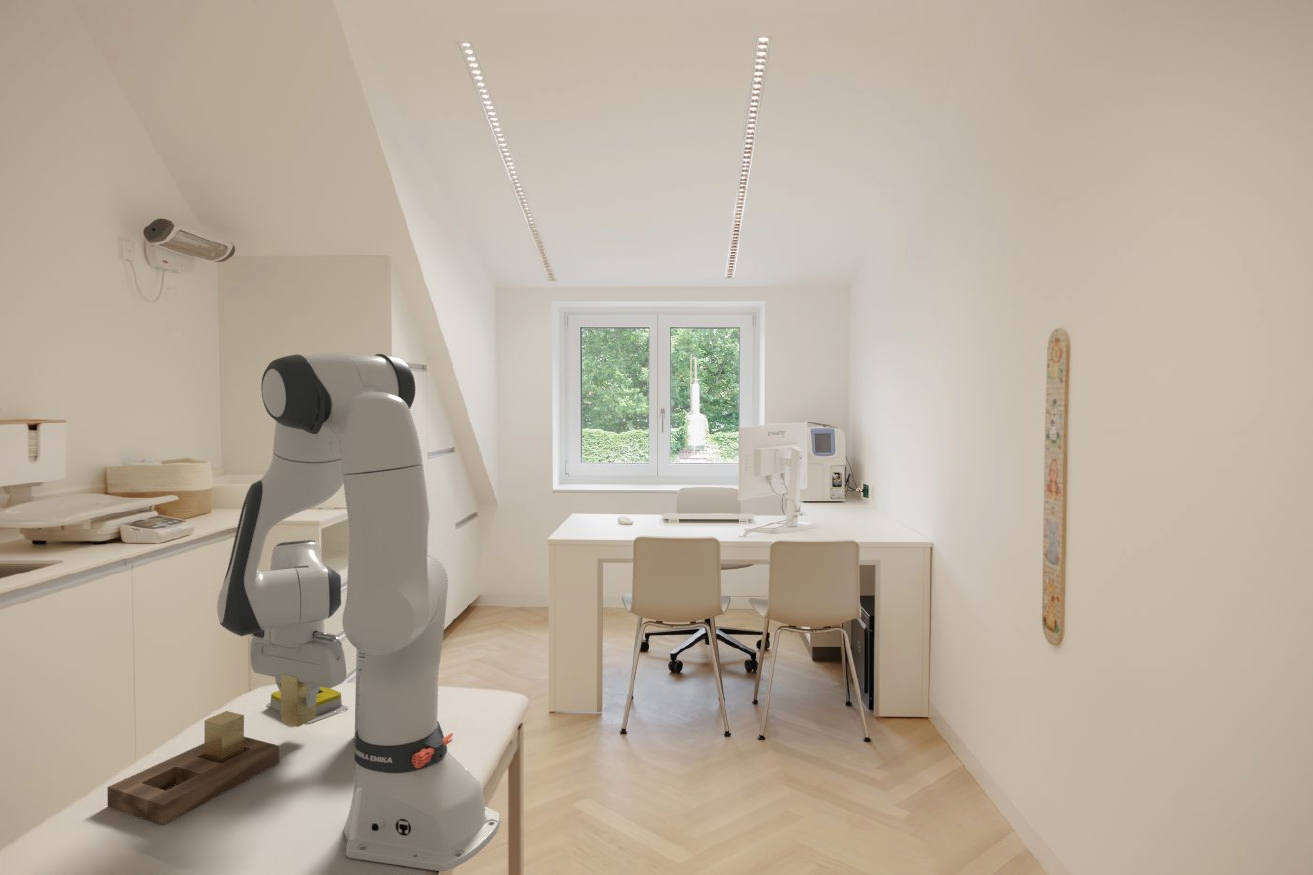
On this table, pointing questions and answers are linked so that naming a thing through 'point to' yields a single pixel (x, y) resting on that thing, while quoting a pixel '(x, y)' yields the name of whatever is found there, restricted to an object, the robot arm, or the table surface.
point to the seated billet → (224, 737)
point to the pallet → (188, 781)
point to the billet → (295, 702)
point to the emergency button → (325, 703)
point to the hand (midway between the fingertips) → (298, 702)
